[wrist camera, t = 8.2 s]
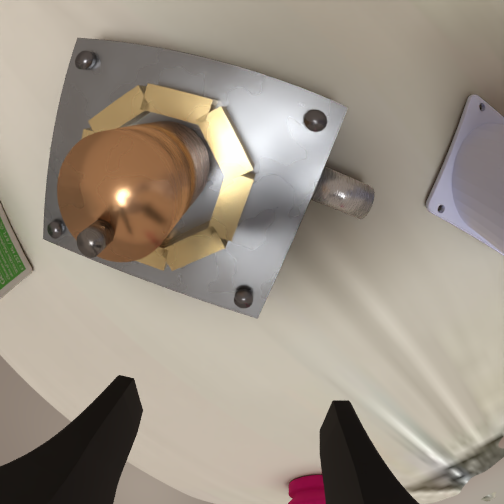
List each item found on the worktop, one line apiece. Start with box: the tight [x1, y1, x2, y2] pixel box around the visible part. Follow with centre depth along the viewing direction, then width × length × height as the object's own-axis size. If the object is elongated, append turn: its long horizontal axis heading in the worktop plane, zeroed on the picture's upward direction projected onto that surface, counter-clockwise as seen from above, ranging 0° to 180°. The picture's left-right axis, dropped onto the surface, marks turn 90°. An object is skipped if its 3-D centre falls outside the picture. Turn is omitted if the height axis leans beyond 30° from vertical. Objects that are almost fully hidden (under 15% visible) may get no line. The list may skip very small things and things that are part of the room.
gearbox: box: [43, 38, 374, 319], centre depth 15 cm, size 17×12×4 cm
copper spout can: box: [57, 121, 210, 262], centre depth 11 cm, size 4×4×7 cm
